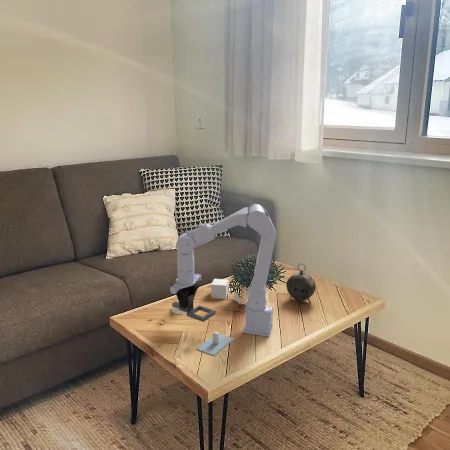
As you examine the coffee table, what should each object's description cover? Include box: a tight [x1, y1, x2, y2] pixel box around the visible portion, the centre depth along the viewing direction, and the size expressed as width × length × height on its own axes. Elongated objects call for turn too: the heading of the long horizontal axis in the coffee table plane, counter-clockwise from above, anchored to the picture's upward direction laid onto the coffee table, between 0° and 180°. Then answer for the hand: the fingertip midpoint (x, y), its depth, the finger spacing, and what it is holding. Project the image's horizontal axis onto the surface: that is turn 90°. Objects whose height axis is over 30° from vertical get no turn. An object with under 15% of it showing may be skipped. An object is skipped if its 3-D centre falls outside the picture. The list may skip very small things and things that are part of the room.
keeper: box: [195, 331, 235, 356], centre depth 153 cm, size 7×12×4 cm, turn 146°
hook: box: [170, 299, 187, 315], centre depth 176 cm, size 8×12×7 cm
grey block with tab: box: [171, 293, 217, 323], centre depth 159 cm, size 16×7×6 cm, turn 56°
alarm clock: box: [286, 263, 316, 304], centre depth 182 cm, size 11×5×16 cm, turn 58°
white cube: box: [210, 278, 230, 300], centre depth 189 cm, size 6×6×6 cm
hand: (186, 305), depth 161 cm, fingers closed on grey block with tab, 3 cm apart
